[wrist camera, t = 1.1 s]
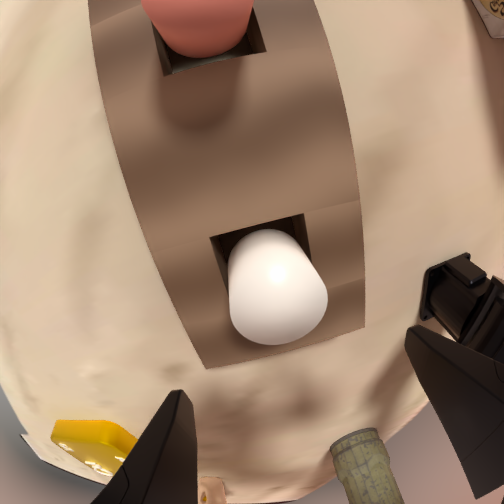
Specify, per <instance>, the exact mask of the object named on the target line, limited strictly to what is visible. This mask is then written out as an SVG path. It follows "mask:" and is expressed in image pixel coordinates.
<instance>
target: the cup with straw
mask: <svg viewBox="0 0 504 504" xmlns="http://www.w3.org/2000/svg"><path fill="white" fill-rule="evenodd" d="M199 481H200V482H199V484H198V504H227V501H226V496H225V492H224V487H223V484H222V479H220V478H217V477H202V478H199Z"/></svg>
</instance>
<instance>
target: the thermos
mask: <svg viewBox="0 0 504 504" xmlns="http://www.w3.org/2000/svg"><path fill="white" fill-rule="evenodd" d="M330 451H331V453H332V455H333V463H334V467H335V470H336V473H337V476H338V479H339V480H340V482H341V483H342V484H343V485H344V487H345V491H346V494H347V497H348V500H349V504H404V501H403V499H402V496H401V494H400V491H399V488H398V486H397V484H396V481H395V479H394V476H393V474H392V472H391V469H390V457H389V455H388V453H387V451H386V448H385V446H384V443H383V441H382V440H381V439H380V438H379V436H378V433H377V430H376V429H375V428H366V429H362V430H359V431H355V432H353V433H351V434H348V435H346V436H344V437H342V438H340V439H339V440H337V441H336V442H334V443H333V444H332V446H331V447H330Z"/></svg>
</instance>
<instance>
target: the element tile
mask: <svg viewBox="0 0 504 504" xmlns="http://www.w3.org/2000/svg"><path fill="white" fill-rule="evenodd" d="M50 438H51V441H52V442H54V443H55V444H56V445H58V446H59V447H60V448H62V449H63V450H64V451H66V452H67V453H69V454H70V455H72V456H73V457H75V458H76V459H78V460H79V461H81V462H82V463H84V464H85V465H87V466H89V467H90V468H92V469H94V470H95V471H96V472H98V473H100V474H102V475H105V476H110V477H113V476H114V475H115V473H116V472H117V470H118V469H119V467H120V466H121V465H122V463H123V462H124V460H125V459H126V457H127V456H128V454H129V453H130V451H131V450H132V448H133V447H134V445H135V444H136V442H137V441H138V439H137V438H135V437H134V436H133V435H131V434H130V433H129V432H128V431H126V430H125V429H124V428H122V427H121V426H119V425H118V424H116V423H113V422H111V421H106V420H57V421H56V423H55V426H54V428H53V431H52V434H51V437H50Z"/></svg>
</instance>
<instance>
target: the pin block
mask: <svg viewBox="0 0 504 504" xmlns="http://www.w3.org/2000/svg"><path fill="white" fill-rule="evenodd" d="M88 7H89V19H90V28H91V36H92V43H93V50H94V57H95V63H96V68H97V74H98V79H99V84H100V89H101V94H102V98H103V103H104V107H105V112H106V116H107V120H108V124H109V128H110V132H111V135H112V139H113V143H114V146H115V150H116V153H117V157H118V160H119V164H120V167H121V170H122V173H123V177H124V180H125V183H126V186H127V189H128V192H129V195H130V198H131V201H132V204H133V207H134V209H135V212H136V215H137V218H138V221H139V223H140V226H141V229H142V231H143V234H144V237H145V239H146V242H147V244H148V247H149V249H150V252H151V254H152V257H153V259H154V262H155V264H156V266H157V269H158V271H159V274H160V276H161V278H162V281H163V283H164V285H165V287H166V290H167V292H168V294H169V296H170V298H171V301H172V303H173V305H174V307H175V309H176V311H177V314H178V316H179V318H180V320H181V322H182V324H183V326H184V328H185V330H186V332H187V334H188V336H189V338H190V340H191V342H192V344H193V346H194V348H195V350H196V352H197V354H198V355H199V357H200V359H201V361H202V363H203V365H204V367H205V368H206V369H209V368H215V367H220V366H225V365H230V364H235V363H240V362H244V361H249V360H253V359H258V358H262V357H266V356H270V355H274V354H278V353H282V352H286V351H290V350H293V349H297V348H301V347H304V346H308V345H311V344H314V343H318V342H321V341H324V340H328V339H331V338H334V337H337V336H340V335H343V334H346V333H349V332H352V331H355V330H358V329H361V328H364V327H365V262H364V242H363V227H362V215H361V205H360V195H359V186H358V179H357V171H356V164H355V157H354V151H353V145H352V139H351V134H350V128H349V123H348V118H347V113H346V109H345V104H344V100H343V95H342V91H341V87H340V83H339V79H338V75H337V71H336V67H335V64H334V60H333V57H332V53H331V50H330V47H329V43H328V40H327V37H326V34H325V31H324V28H323V25H322V22H321V19H320V16H319V14H318V11H317V8H316V6H315V3H314V0H254V2H253V6H252V10H251V14H250V18H249V22H248V26H247V30H246V31H247V35H248V38H249V42H250V45H251V48H252V52H253V54H252V55H246V56H241V57H236V58H231V59H226V60H222V61H217V62H213V63H209V64H205V65H202V66H198V67H194V68H191V69H187V70H184V71H181V72H177V73H174V74H173V72H172V68H171V64H170V60H169V56H168V52H167V47H166V43H165V41H164V39H163V38H162V36H161V35H160V33H159V32H158V30H157V29H156V27H155V26H154V24H153V23H152V21H151V20H150V18H149V17H148V15H147V14H146V12H145V11H144V9H143V7H142V4H141V0H88ZM289 216H292V221H293V227H294V232H295V237H296V241H297V242H298V244H299V245H300V247H301V248H302V250H303V251H304V253H305V254H306V256H307V258H308V259H309V261H310V262H311V264H312V265H313V267H314V268H315V270H316V272H317V273H318V275H319V276H320V278H321V279H322V281H323V283H324V285H325V287H326V290H327V295H328V302H327V308H326V311H325V313H324V316H323V317H322V319H321V321H320V322H319V323H318V325H317V326H316V327H315V328H314V329H313V330H311V331H310V332H309V333H308V334H306V335H305V336H303V337H301V338H299V339H297V340H295V341H292V342H289V343H285V344H279V345H265V344H260V343H256V342H253V341H251V340H249V339H247V338H246V337H244V336H243V335H242V334H240V333H239V332H238V330H237V329H236V328H235V326H234V325H233V322H232V320H231V316H230V305H229V284H228V267H227V264H226V260H225V257H224V254H223V251H222V247H221V244H220V241H219V238H218V235H219V234H223V233H227V232H230V231H234V230H238V229H242V228H246V227H250V226H254V225H257V224H261V223H265V222H269V221H273V220H277V219H281V218H285V217H289Z"/></svg>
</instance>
